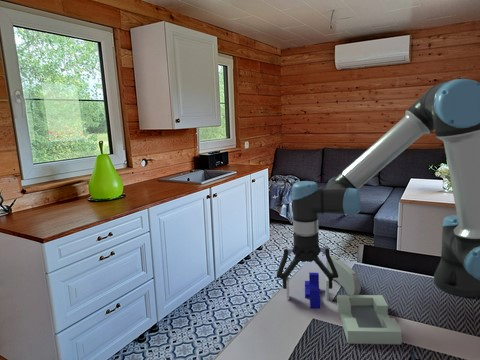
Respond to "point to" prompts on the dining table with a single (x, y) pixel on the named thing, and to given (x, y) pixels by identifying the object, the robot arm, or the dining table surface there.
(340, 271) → the slide sandal
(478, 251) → the robot arm
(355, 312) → the holder
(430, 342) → the dining table surface
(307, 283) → the cable clip
